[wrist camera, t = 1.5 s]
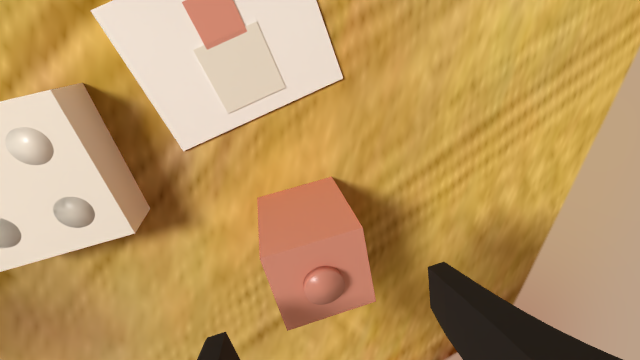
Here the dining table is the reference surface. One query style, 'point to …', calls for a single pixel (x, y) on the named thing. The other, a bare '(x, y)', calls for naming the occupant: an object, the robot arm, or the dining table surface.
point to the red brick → (313, 253)
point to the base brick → (61, 178)
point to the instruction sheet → (220, 58)
